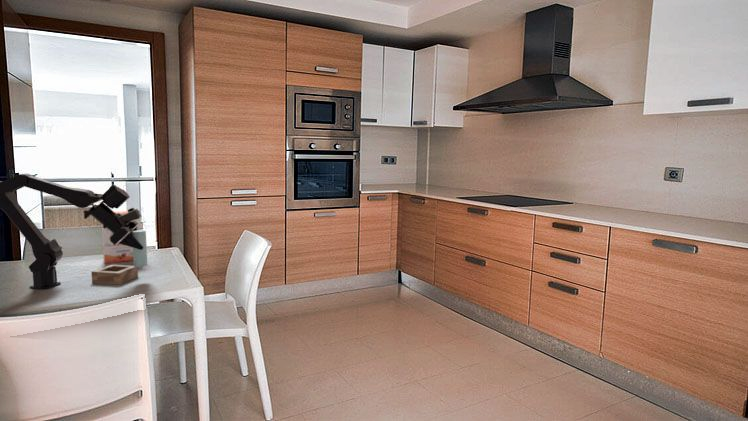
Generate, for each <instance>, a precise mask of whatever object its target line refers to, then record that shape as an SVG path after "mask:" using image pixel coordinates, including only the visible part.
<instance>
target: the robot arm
mask: <svg viewBox="0 0 748 421" xmlns="http://www.w3.org/2000/svg"><path fill="white" fill-rule="evenodd" d="M24 187H25V188H28V189H32V190H35V191H37V192H41V193H44V194H48V195H51V196H53V197H56V198H57V197H58V198H59V199H60V198H61V199H63V200H64V201H66V202H67V203H68V204H71V205H73V206H75V207H77V208H80V209H85V208H88V207H90V208H89V209H85V210H83V215H84V216H83V218H84V219H88V218H89V217H91V216H92V218H94V219H95V220H96V221H97V222H99V223H100V224H101V226H102V225H103V228H104V229H105V228H107V229H108V230H110V231H111V232H112V233H113V234H112V236H111V237H110V242H112V243H113V244H114V245H115V244H117V243H118V241H120V240H121V241H120V242H119V243H118V244H122V245H126V246H130V247H133V248H136V249H140V250H142V249H143V248H144V247H143V246H142V245H141V244H140V243H139V242H138V240H137V239H136V238H135V237H134V236H133V231H137V228H138V226H137V227H136V228H135V229H134V227H135V226H136V225H137V224H138V223H137V222H136V221H135V220H136V219H138V218H140V219H141V217H142V215H141V212H140V210H139V209H138V208H136V209H135V207H131V208H128V209H127V211H128V213H126V214H124V215H121V214H120V213H119V214H118V213H117V214H116V213H115V212H116V211H114V210H113V209H117V210H118V209H119V208H120V207H121V206H122V205H123V204H124V203H125V202H127V200H128V199H130V198H131V197H130V195H129V193H128V192H126V191H125V189H122V188H121V187H119V186H117V185H116V184H111V186H109V188H108V189H107V190H106V191H105V192H104V193H103V194H102V193H95V192H94V191H92V190H90V189H87V188H86V189H85V188H79V187H70V186H66V185H62V184H59V183H56V182H53V181H50V180H46V179H44V178H40V177H37V176H34V175H32V174H30V173H20V174H17V175H15V176H13V177H11V178H9V179H5V180H2V181H1V180H0V209H1V210H2V211H3V213H4V214H6V216H7V217H8V219H9V220H10V221H11V222H12V223H13V225H14V226H15V227H16V228H17V229H18V231H19V232H20V233H21V235H22V236H23V238H25V239H26V240H27V242H28V243H29V245H30V246H31V251H32V254H33V256H34V258H35V259H34V261H33V262H32V263H30V264H29V265H28V268H29V271H30V272H31V273H32V283H33V284H32V285H29V289H40V290H42V289H43V290H47V289H50V288H52V287H55V286H58V285H61V284H62V282H59V281H58V276H57V275H58V274H57V273H58V272H57V270H56V266H57V265H58V262H60V260H61V259H62V258H63V255H64V253H63V250H62V249H63V247H62V246H60V244H59V243H58V242H57V240H56V239H55V238H53V239H51V240H50V239H48V238H47V237H45V235H44V234H43V233H42V232H41V230H40V229H39V228H38V227H37V226H36V224H35V223H34V222H33V221H32V220H33V219H31V217H30V216H28V213H27V212H26V211H25V210H24V209H23V208H22V206H21V205H20V204H19V202H18V197H17V193H16V191H18V190H20V189H22V188H24ZM100 201H101V202H100ZM98 202H100V203H98ZM96 203H98V204H96ZM139 212H140V213H139Z"/></svg>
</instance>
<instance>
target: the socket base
mask: <svg viewBox="0 0 748 421" xmlns="http://www.w3.org/2000/svg"><path fill="white" fill-rule="evenodd" d="M138 268H139V267H134V266H133V265H126V264H110V265H107V266H104V267H100V268H98V269H96V270H92V271H91V283H92V284H106V285H107V284H110V285H121V284H124V283H125V282H128V281H130V280H133V279H135V278H137V277H139V271H138Z"/></svg>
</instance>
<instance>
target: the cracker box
mask: <svg viewBox="0 0 748 421" xmlns="http://www.w3.org/2000/svg"><path fill="white" fill-rule="evenodd" d="M114 212H115V213H116V214H117V213H118V214H119V213H120V214H121V215H124V214H126V213H128V210H126V211H124V210H123V211H114ZM139 213H140V214H141V212H139ZM135 221H136V222H137V223H138V224H137V225H136V226H135V227H134V229H135V228H136V227H137V226H138V228H137V231H139V230H142V229H141V217H140V218H138V219H136V220H135ZM101 232H102V249H103V250H102V251H103V253H102V254H103V261H104V264H110V263H120V262H121V263H122V262H130V261H131V262H133V247H130V246H126V245H122V244H118V243H119V242H120V241H121V240H120V241H118V243H117V244H115V245H114V244H113V243H112V242H110V237H111V236H112V234H113V233H112V232H111V231H110V230H108V229H107V228H105V229H104V228H103V225H102V224H101Z"/></svg>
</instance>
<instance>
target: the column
mask: <svg viewBox="0 0 748 421" xmlns="http://www.w3.org/2000/svg"><path fill="white" fill-rule="evenodd" d="M133 236H134V237H135V238H136V239H137V240H138V242H139V243H140V244H141V245H142V246H143V247H144V248H143V249H142V250H140V249H136V248H133V261H132V263H133V264H132V266H134V267H137V268H143V267H146V266H148V250H147V247H148V246H147V231H146V230H142V229H141V230H139V231H133Z"/></svg>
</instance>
